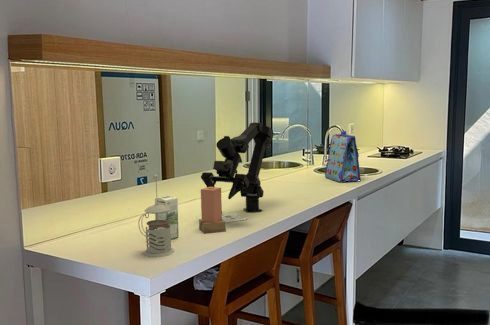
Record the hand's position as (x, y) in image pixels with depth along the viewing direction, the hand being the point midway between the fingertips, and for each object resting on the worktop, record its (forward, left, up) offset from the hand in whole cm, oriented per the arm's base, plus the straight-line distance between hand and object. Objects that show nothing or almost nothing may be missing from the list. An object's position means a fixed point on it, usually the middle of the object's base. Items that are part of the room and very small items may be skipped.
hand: (218, 198), depth 190 cm
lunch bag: (-79, +97, -11) cm, 126 cm away
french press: (+24, -27, -11) cm, 38 cm away
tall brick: (+4, -4, -8) cm, 9 cm away
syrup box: (+9, -21, -11) cm, 25 cm away
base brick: (+4, -4, -11) cm, 12 cm away
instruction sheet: (-11, +8, -11) cm, 18 cm away
